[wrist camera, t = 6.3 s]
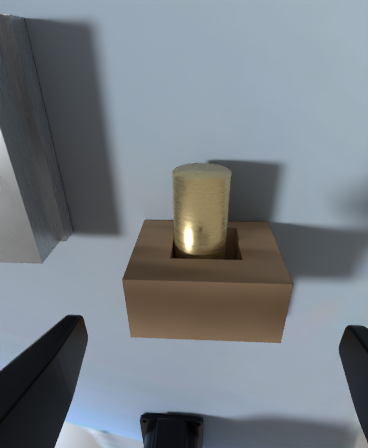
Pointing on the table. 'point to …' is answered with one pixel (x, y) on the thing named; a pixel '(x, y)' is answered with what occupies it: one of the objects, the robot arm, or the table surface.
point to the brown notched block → (208, 287)
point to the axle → (201, 210)
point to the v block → (26, 157)
